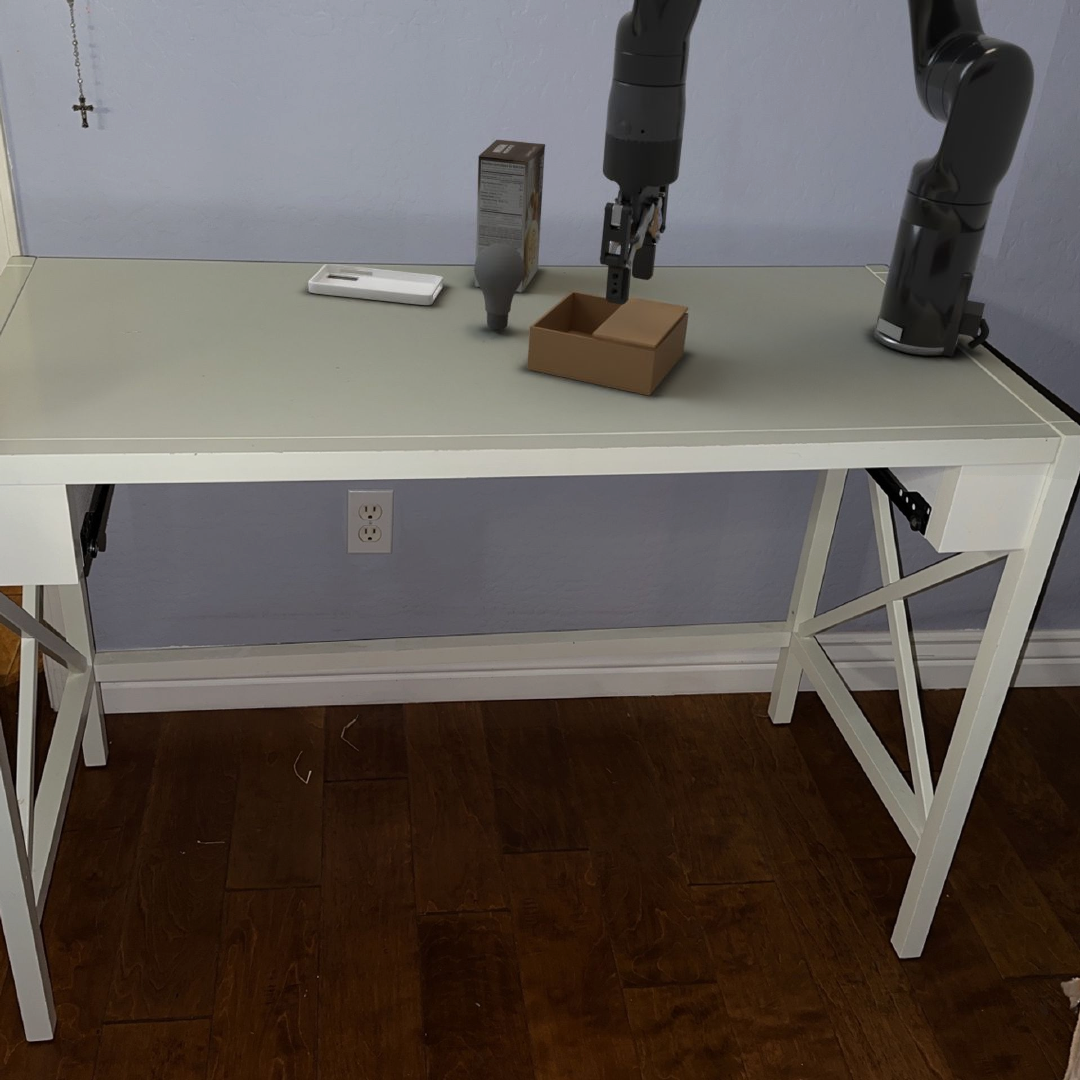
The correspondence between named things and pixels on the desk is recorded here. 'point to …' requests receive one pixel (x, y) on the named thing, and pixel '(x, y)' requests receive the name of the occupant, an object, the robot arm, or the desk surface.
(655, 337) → the flap
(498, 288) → the light bulb
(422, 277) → the phone case
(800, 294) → the desk surface
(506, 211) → the coffee box
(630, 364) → the carton
